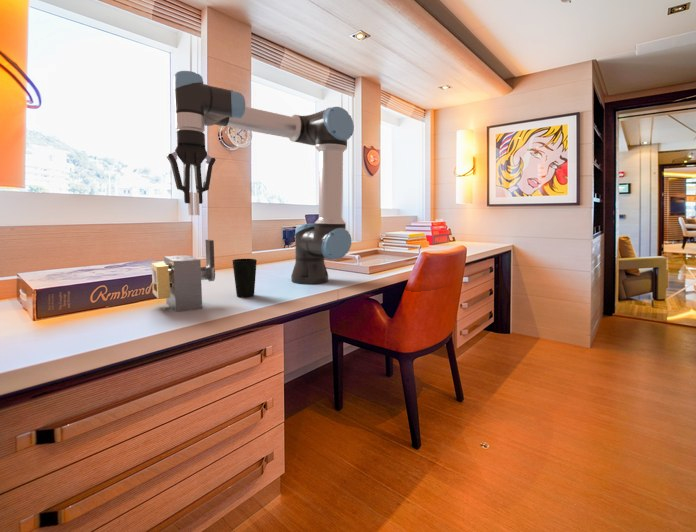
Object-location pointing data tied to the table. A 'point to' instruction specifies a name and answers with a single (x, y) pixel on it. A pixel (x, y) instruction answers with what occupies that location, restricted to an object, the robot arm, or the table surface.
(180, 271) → the block
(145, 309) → the table surface
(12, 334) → the table surface
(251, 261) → the cup
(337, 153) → the robot arm
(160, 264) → the block
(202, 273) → the shaft
